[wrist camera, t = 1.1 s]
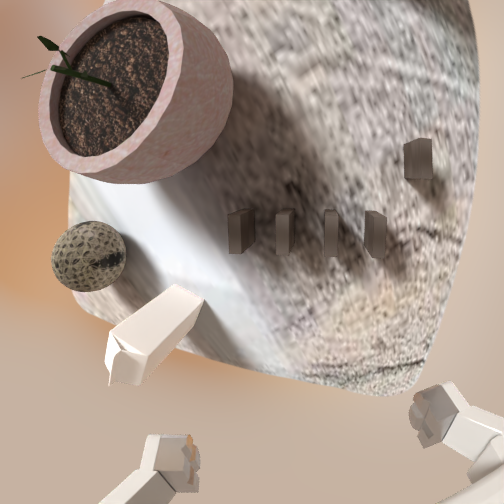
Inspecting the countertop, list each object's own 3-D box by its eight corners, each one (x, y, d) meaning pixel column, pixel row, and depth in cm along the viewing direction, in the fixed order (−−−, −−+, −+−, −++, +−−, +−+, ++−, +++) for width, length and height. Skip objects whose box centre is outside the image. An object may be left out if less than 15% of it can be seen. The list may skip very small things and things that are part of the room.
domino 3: (324, 209, 43) (325, 215, 35) (335, 209, 42) (338, 215, 35) (324, 243, 44) (324, 256, 36) (334, 243, 44) (337, 256, 36)
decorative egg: (95, 272, 55) (42, 297, 41) (91, 214, 52) (33, 228, 38) (141, 281, 53) (88, 312, 39) (138, 217, 50) (79, 233, 36)
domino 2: (283, 208, 44) (275, 214, 37) (294, 208, 44) (288, 214, 36) (283, 242, 45) (275, 255, 38) (294, 242, 45) (288, 255, 37)
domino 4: (365, 210, 41) (374, 217, 34) (375, 211, 41) (386, 217, 34) (363, 244, 43) (372, 257, 35) (374, 244, 42) (384, 258, 35)
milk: (166, 309, 53) (89, 373, 32) (175, 282, 51) (93, 341, 30) (194, 326, 52) (127, 400, 32) (205, 299, 51) (134, 370, 30)
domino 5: (403, 144, 38) (419, 137, 30) (413, 145, 37) (431, 139, 30) (404, 178, 39) (421, 178, 31) (414, 179, 39) (432, 179, 31)
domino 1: (243, 208, 46) (227, 214, 38) (254, 208, 45) (240, 214, 38) (244, 241, 47) (229, 253, 39) (255, 241, 46) (241, 253, 39)
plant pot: (212, 206, 47) (65, 250, 18) (104, 152, 49) (-40, 153, 20) (279, 69, 39) (210, -63, 11) (157, 35, 41) (37, -36, 13)
